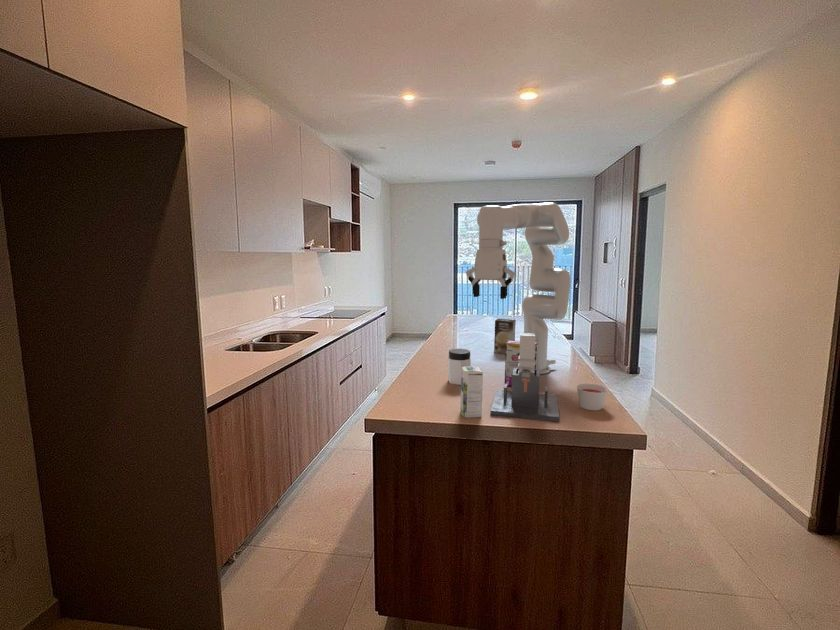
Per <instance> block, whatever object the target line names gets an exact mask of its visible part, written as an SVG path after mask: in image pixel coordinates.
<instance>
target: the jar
mask: <svg viewBox="0 0 840 630" xmlns="http://www.w3.org/2000/svg"><path fill="white" fill-rule="evenodd" d="M447 358H448V359H447V360H448V362H447V363H448V365H447V366H448V369H447V371H448V372H447V373H448V376H447V377H448V379H447V380H448V382H449V384H450V385H457V386H461V375H462V367H466V366H471V365H472V364H471V363H472V362H471V350H469V349H466V348H452V349H450V350H449V349H448V357H447Z"/></svg>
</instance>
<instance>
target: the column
mask: <svg viewBox="0 0 840 630" xmlns="http://www.w3.org/2000/svg"><path fill="white" fill-rule="evenodd" d="M519 341H520V355H519V358H518V361H519V365H518V369H519V371H518V374H520V375H522V371H530V375H534V372H535V371H534V370H535V363H534V362H535V356H534V347H535V333H524V332H520V336H519Z"/></svg>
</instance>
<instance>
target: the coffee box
mask: <svg viewBox="0 0 840 630" xmlns="http://www.w3.org/2000/svg"><path fill="white" fill-rule="evenodd" d="M516 322H517V321H516V319H506V318H496V319H495V320H494V337H493V338H494V339H493V341H494V342H493V343H494V344H493V353H494V354H503V355H504V354H505V355H506V343H507V341H516Z"/></svg>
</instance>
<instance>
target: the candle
mask: <svg viewBox="0 0 840 630" xmlns="http://www.w3.org/2000/svg"><path fill="white" fill-rule="evenodd" d="M576 391H577V397H578V405H579V407H580V408H581V409H584V410H587V411H601V410H602V409H603V407H604V405H605V404H604V403H605V400H606V397H607V392H608V389H607V387H605V386H603V385H599V384H595V383H580V384H578V385H576Z"/></svg>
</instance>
